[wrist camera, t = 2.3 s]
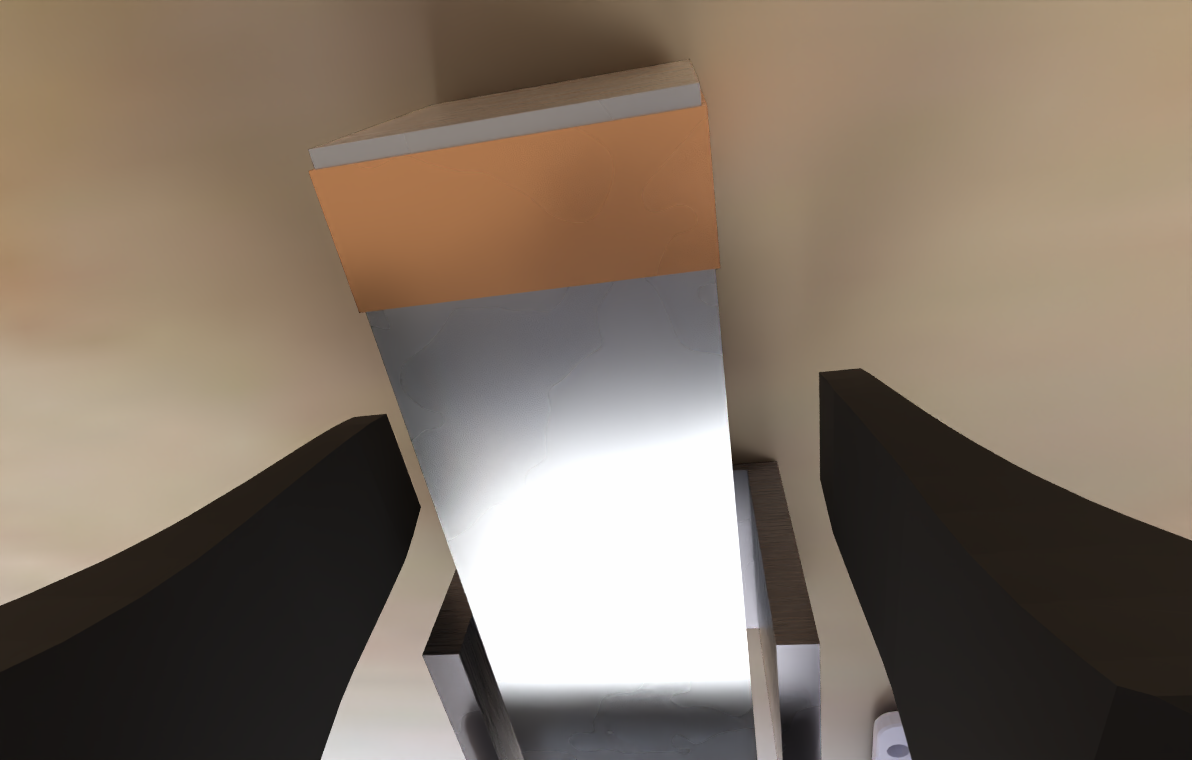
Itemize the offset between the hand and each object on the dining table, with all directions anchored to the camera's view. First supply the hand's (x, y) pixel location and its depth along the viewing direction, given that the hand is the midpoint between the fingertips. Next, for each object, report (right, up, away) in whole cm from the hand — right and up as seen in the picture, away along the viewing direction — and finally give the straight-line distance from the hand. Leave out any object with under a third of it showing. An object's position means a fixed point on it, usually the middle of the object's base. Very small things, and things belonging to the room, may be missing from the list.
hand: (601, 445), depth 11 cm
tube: (0, +1, +2) cm, 2 cm away
